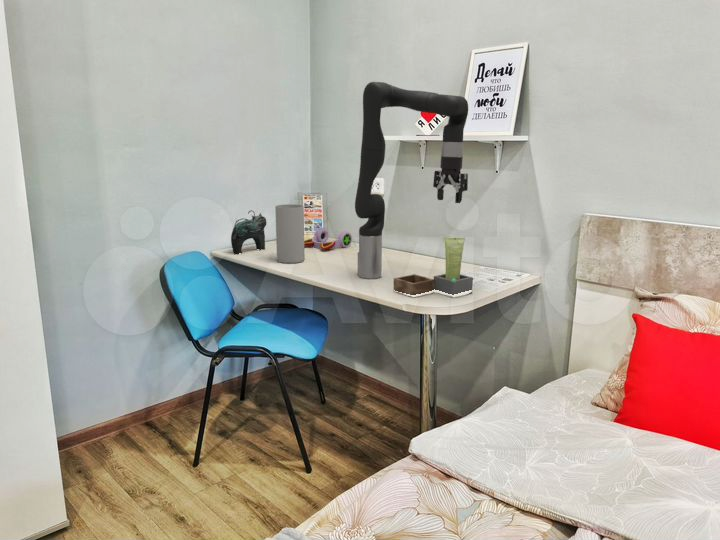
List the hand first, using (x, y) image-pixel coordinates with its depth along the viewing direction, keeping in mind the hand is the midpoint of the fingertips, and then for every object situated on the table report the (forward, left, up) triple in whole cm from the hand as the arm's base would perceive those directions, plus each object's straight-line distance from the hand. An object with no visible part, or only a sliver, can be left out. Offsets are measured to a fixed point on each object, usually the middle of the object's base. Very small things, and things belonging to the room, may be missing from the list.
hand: (449, 201), depth 201 cm
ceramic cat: (-108, -25, -33) cm, 115 cm away
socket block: (+3, 0, -33) cm, 33 cm away
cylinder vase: (-78, -20, -33) cm, 87 cm away
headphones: (-95, +11, -34) cm, 102 cm away
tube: (+3, 0, -32) cm, 33 cm away
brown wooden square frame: (-6, -11, -33) cm, 35 cm away
